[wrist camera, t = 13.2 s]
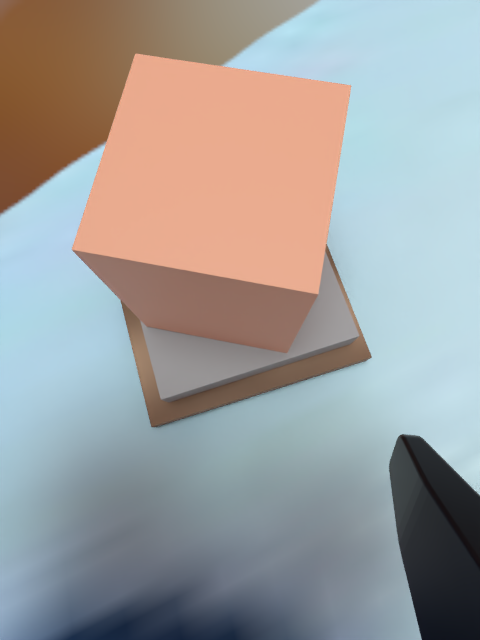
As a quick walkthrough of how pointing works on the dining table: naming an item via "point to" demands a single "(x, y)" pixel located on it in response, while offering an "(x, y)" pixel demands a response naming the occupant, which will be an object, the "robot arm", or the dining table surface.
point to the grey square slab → (246, 347)
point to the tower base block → (240, 389)
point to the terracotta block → (216, 199)
